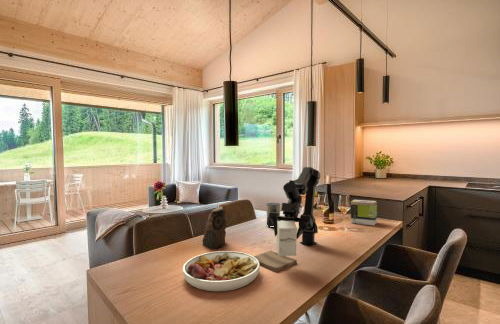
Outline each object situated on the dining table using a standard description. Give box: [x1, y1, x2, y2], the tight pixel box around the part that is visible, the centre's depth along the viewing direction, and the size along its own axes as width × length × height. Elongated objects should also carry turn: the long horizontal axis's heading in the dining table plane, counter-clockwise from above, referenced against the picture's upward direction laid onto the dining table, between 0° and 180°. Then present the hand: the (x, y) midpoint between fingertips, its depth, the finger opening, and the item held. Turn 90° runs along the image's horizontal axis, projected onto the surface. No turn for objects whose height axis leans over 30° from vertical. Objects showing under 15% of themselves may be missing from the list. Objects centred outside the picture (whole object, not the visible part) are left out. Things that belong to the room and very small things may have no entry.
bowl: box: [182, 250, 261, 292], centre depth 114 cm, size 30×30×8 cm
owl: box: [201, 205, 227, 251], centre depth 149 cm, size 13×13×20 cm
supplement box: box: [276, 221, 298, 257], centre depth 120 cm, size 7×7×13 cm
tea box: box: [350, 199, 378, 226], centre depth 190 cm, size 15×10×15 cm, turn 58°
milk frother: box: [265, 202, 281, 226], centre depth 184 cm, size 14×16×15 cm
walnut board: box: [253, 250, 298, 273], centre depth 127 cm, size 13×16×2 cm
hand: (285, 237), depth 119 cm, fingers closed on supplement box, 9 cm apart
